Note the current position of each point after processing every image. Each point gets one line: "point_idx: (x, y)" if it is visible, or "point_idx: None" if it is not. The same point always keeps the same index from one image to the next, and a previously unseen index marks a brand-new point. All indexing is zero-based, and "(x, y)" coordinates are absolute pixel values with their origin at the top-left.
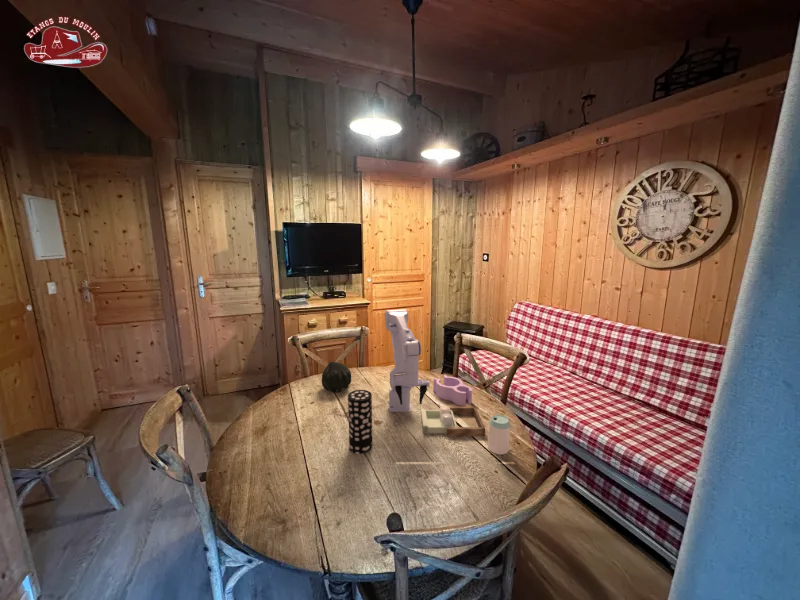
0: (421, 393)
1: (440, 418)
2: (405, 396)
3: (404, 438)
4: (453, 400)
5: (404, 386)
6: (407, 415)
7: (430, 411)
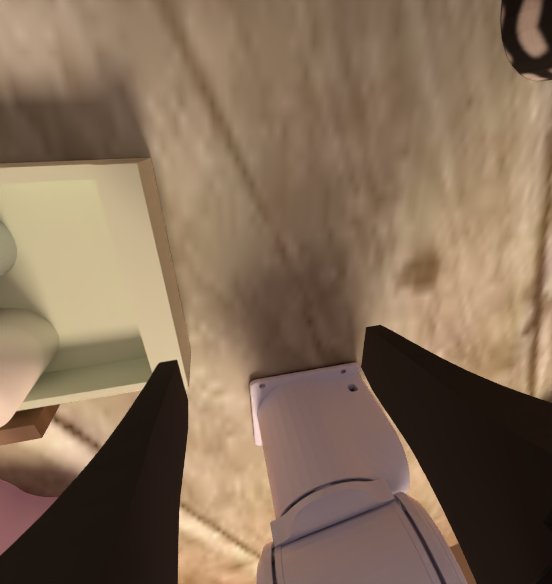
0: (110, 512)
1: (38, 331)
2: (302, 459)
3: (284, 99)
4: (12, 508)
5: (333, 544)
6: (267, 351)
7: (123, 382)
